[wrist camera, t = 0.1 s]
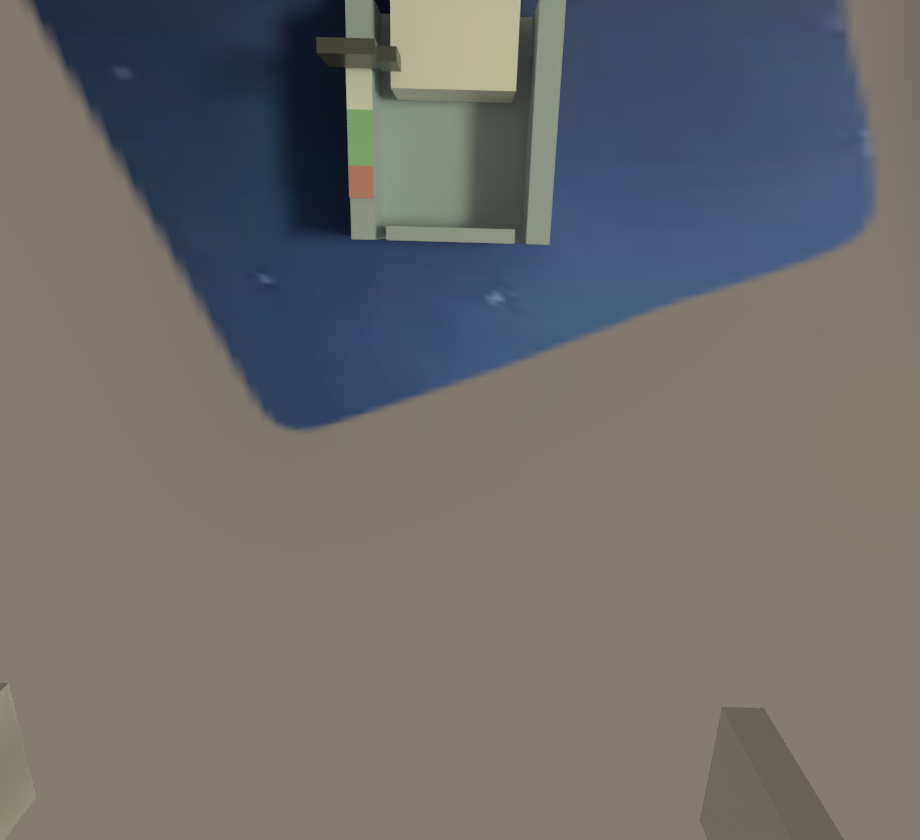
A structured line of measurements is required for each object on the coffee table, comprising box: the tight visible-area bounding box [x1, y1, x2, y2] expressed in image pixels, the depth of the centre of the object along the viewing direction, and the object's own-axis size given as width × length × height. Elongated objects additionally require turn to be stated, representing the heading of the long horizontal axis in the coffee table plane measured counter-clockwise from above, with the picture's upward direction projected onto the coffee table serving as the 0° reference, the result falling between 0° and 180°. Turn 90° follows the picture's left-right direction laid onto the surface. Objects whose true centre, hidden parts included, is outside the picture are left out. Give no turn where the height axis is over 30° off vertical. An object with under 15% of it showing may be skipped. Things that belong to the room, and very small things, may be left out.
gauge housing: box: [345, 0, 566, 245], centre depth 32 cm, size 11×11×4 cm
